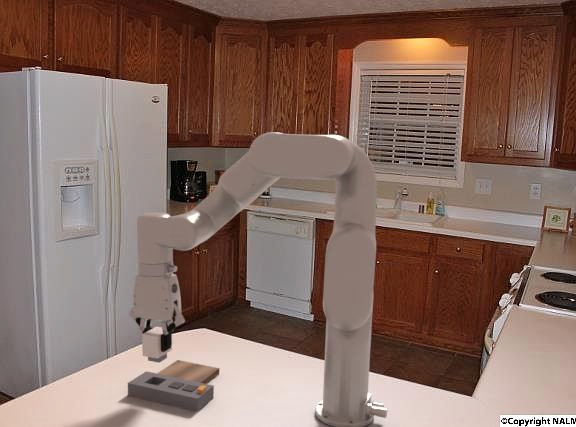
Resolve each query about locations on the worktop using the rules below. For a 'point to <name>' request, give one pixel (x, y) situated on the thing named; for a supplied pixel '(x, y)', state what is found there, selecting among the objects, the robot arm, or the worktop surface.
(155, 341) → the block
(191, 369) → the pad
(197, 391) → the power strip
